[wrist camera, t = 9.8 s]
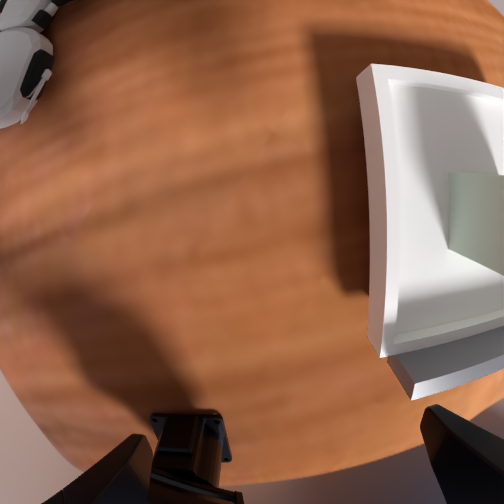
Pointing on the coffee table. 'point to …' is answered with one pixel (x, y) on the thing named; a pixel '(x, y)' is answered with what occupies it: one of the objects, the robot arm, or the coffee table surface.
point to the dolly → (429, 225)
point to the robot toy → (24, 56)
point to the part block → (477, 218)
